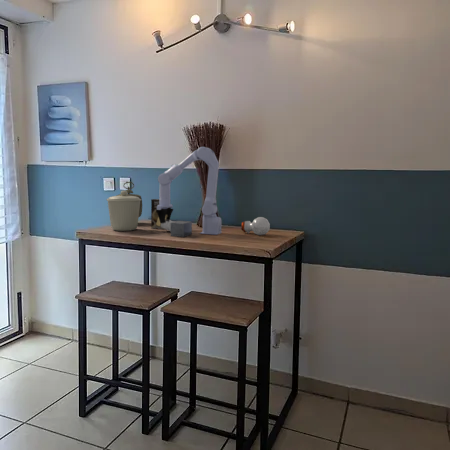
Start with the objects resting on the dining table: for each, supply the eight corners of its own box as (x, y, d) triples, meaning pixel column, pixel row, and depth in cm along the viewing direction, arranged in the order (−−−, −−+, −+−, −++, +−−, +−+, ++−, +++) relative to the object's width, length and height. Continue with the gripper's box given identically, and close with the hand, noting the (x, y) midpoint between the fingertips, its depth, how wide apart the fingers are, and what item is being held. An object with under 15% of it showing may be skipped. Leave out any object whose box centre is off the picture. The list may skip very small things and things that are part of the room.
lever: (177, 231, 224) (181, 221, 222) (172, 232, 219) (176, 222, 218) (161, 223, 228) (164, 213, 226) (155, 224, 223) (159, 214, 222)
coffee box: (150, 228, 236) (150, 199, 234) (156, 227, 242) (156, 198, 240) (165, 229, 233) (165, 199, 231) (170, 227, 239) (170, 199, 237)
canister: (137, 232, 218) (137, 191, 216) (102, 231, 219) (101, 190, 216) (144, 228, 236) (144, 190, 234) (112, 227, 237) (111, 189, 234)
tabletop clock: (136, 222, 263) (136, 181, 260) (144, 223, 256) (143, 182, 253) (114, 223, 253) (114, 181, 250) (121, 225, 246) (121, 182, 243)
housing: (191, 234, 215) (191, 221, 215) (183, 237, 206) (183, 223, 205) (179, 233, 218) (179, 220, 217) (170, 236, 208) (170, 222, 207)
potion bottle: (268, 239, 214) (244, 239, 223) (275, 226, 220) (251, 227, 229) (261, 225, 209) (236, 226, 218) (269, 212, 215) (244, 214, 224)
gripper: (164, 195, 230) (164, 220, 232) (151, 197, 217) (151, 223, 218) (176, 196, 228) (175, 221, 230) (163, 197, 215) (163, 224, 216)
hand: (164, 222), depth 224 cm, fingers closed on lever, 5 cm apart
